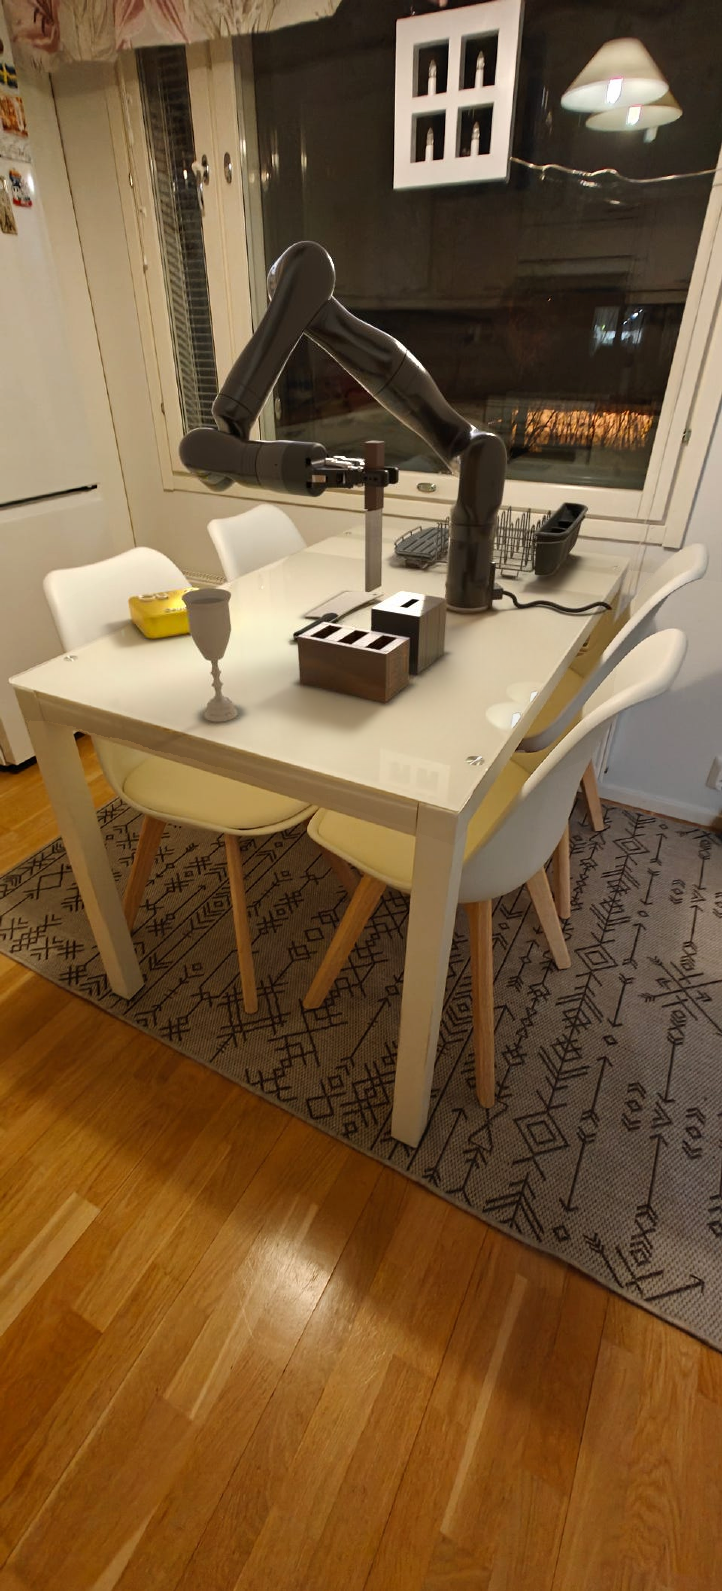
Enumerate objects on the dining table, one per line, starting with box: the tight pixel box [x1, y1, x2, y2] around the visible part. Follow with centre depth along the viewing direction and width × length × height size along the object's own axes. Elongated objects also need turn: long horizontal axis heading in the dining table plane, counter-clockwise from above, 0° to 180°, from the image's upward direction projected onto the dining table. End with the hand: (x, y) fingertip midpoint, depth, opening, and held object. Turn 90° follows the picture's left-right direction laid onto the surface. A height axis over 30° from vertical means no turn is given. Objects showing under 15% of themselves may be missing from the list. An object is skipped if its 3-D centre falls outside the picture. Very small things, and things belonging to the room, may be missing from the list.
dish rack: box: [393, 501, 589, 579], centre depth 181 cm, size 34×44×12 cm
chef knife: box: [363, 440, 386, 592], centre depth 108 cm, size 4×2×21 cm, turn 150°
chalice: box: [181, 587, 239, 723], centre depth 104 cm, size 7×7×18 cm
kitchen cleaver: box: [292, 591, 385, 642], centre depth 147 cm, size 31×2×10 cm
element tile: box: [127, 587, 199, 640], centre depth 143 cm, size 15×15×5 cm
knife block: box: [370, 590, 448, 675], centre depth 124 cm, size 11×9×10 cm
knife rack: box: [296, 622, 410, 703], centre depth 116 cm, size 8×16×8 cm, turn 61°
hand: (392, 477), depth 103 cm, fingers closed on chef knife, 2 cm apart
